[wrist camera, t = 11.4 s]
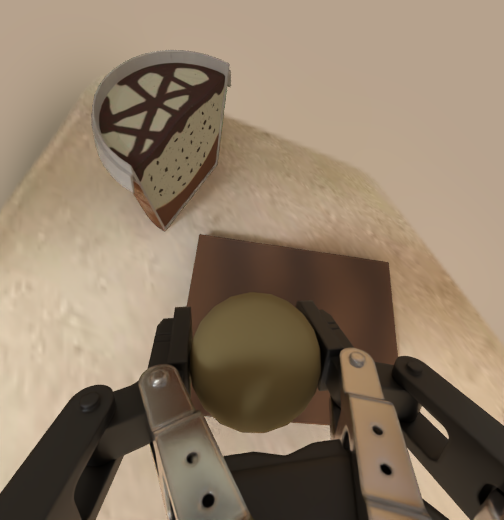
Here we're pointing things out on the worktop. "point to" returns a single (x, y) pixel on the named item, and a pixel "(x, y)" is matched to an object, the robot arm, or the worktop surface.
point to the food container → (161, 126)
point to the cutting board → (299, 295)
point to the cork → (255, 362)
